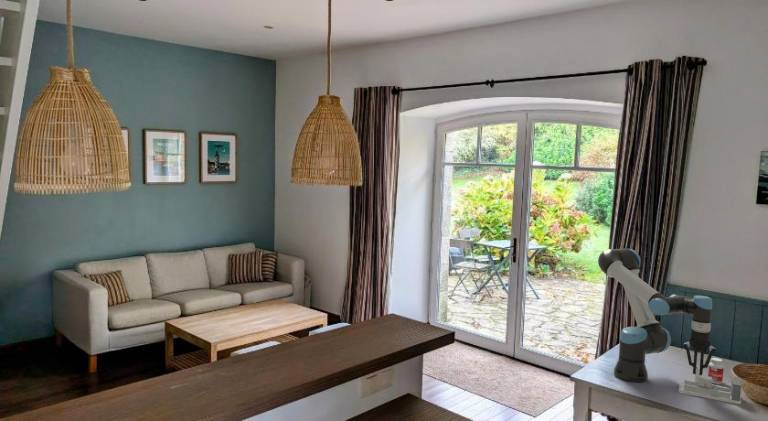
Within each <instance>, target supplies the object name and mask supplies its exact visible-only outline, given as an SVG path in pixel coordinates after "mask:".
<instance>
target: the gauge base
mask: <svg viewBox="0 0 768 421" xmlns="http://www.w3.org/2000/svg"><path fill="white" fill-rule="evenodd" d="M738 379H739V378H736V377H731V381H730V382H731V384H730V387H725V386H722V385H721V386H720V385H718V384H717V385H716V384H715V385H716V389H713V388H711V389H708V388H703V387H698V383H697V382H695V380H694V381H693V380H690V379H684V382H683V383H682V382H679V383H678V385H679V386H678V393H681V394H684V395H691V396H696V397H702V398H704V399H705V398H706V399H709V400H711V399H712V400H716V401H721V402H726V403H730V404H736V405H740V404H741V405H742V400H741V399H742V398H741V391H742V383H741V380H740V381H739V380H738Z"/></svg>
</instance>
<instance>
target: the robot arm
mask: <svg viewBox="0 0 768 421" xmlns="http://www.w3.org/2000/svg"><path fill="white" fill-rule="evenodd" d="M597 259H598V260H597V264H598V266H599V268H600V270H601V271H602V272H603V273H604V274H605V275H606V276H608V277H609V278H613V279H615V280H616V281H617V282H619V283H620V285H622V286H623V290H624V292H625V295H626V297H627V299H628V302H629V306H630V308H631V312H632V314H633V316H634V319H635V321H636V326H627V327H624V328H622V329H621V330H620V334H619V351H618V359H617V362H616V364H615V366H614V367H613V375H614V376H615V377H616V378H618V379H620V380H623V381H627V382H632V383H644V382H647V381H648V380H649V379H648V378H649V374H648V370H647V366H646V355H649V354H650V355H651V354H659V353H663V352H665V351H667V350H668V349H669V348H670V345H671V341H672V338H671V334H670V332H669V331H668V330H667V329H666V328H664V327H662V325H661V323H660V321H658V320H656V318H655V316H666V315H673V314H686V315H689V316H691V327H690V328H691V330H690V339H689V340H688V341H687V342H684V343H683V347H684V348H685V351H686V355H687V356H686V357H687V360H688V365H689V366H691V367H692V374H693V375H695V378H694V381H695V382H697V383H699V375H703V369H708V368H709V363H711V358H713V357H712V356H713V354H714V353H715V352H716V347H715V346H713V345H712V344H711V342H710V340H711V339H710V338H711V327H712V313H713V312H712V311H713V299H712V298H711V297H709V296H706V295H694V296H693V298H692V297H688V296H685V295H680V294H671V295H670V296H668V297H666V296H664V295H663V294H661V293H660V292H659V291H657V290H656V289H655V288H654V287H652V286H651V285H649V284H648V283H647V282H645V281H644V280H643V279H641V278H640V277H639V276H640V275H639V274H640V271H641V270H640V267H641V263H642V261H641V257H640V255H639V253H638V251H636V250H634V249H631V248H624V247H623V248H609V249H605V250H603V251H602V252H601V253H600V255H599V256H598V258H597ZM690 347H691V348H692V349H693V350H694V352H693V353H694V354H693V361H692V356H691V350H690ZM708 349H709V352H708V355H707V356H706V357H707V358H706V360H705V362H704V356H705V352H706V351H707V350H708ZM699 352H700V358H699V359H700V360H699V366H698V365H697V363H698V353H699Z"/></svg>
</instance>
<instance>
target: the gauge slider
mask: <svg viewBox="0 0 768 421" xmlns="http://www.w3.org/2000/svg"><path fill="white" fill-rule="evenodd" d="M698 387H703V388H708V389H711V388H713V389H716V384H713V383H712V377H709V376H708V375H703V374H702V375H699V383H698Z"/></svg>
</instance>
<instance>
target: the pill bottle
mask: <svg viewBox="0 0 768 421" xmlns="http://www.w3.org/2000/svg"><path fill="white" fill-rule="evenodd" d="M707 369H708V370H707V371H708V373H707V376H709V377H712V384H714V385H716V384H717V385H721V384H723V380H724V379H723V378H724V369H725V367H724V364H723V359H721V358H717V357H711V359H710V362H709V365H708V368H707Z"/></svg>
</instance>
